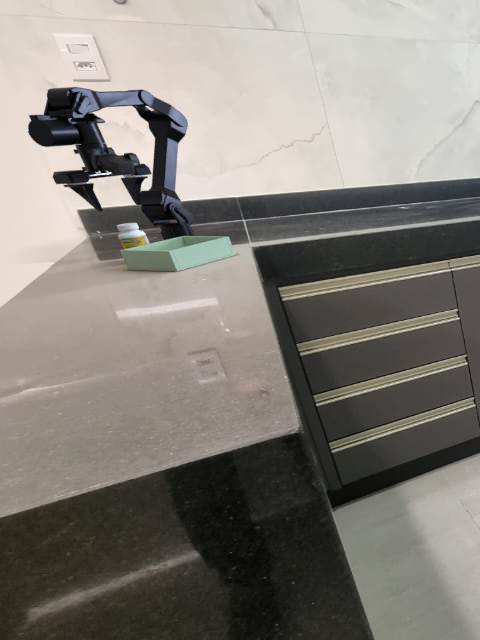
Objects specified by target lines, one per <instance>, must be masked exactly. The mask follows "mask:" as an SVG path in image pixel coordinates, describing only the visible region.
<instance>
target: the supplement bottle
mask: <svg viewBox="0 0 480 640" xmlns="http://www.w3.org/2000/svg"><path fill="white" fill-rule="evenodd" d="M116 228H117V230H118V231H119V232H120V233H118V234H117V238H118V240H119V243H120V244H121V246H122V248H123V250H124V249H128V248H132V247H137V246H141V245H146V244H150V243H151V242H150V241H149V239H148V237H147V234H146V232H145V231H143V230H139V229H140V227H139V225H138V223H137V222H126V223H120V224H116Z"/></svg>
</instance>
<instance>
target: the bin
mask: <svg viewBox="0 0 480 640" xmlns="http://www.w3.org/2000/svg"><path fill="white" fill-rule="evenodd" d="M149 243H150V244H146V245H141V246H137V247H132V248H128V249H124V248H123V249H120V250H119V252H120V254H121V256H122V258H123V260H124V263H125V265H126V266H127V269H128V270H129V271H151V272H153V271H155V272H156V271H157V272H158V271H159V272H181V271H183V270H188V269H191V268H195V267H198V266H202V265H205V264H209V263H212V262H216V261H219V260H222V259H226V258H230V257H234V256H236V252H235V250H234V247H233V244H232V242H231V239H230V237H229V236H215V235H214V236H209V235H208V236H207V235H205V236H204V235H199V236H198V235H195V236H181V237H177V238H172V239H168V240H164V239H162V240H160V241H155V242H149Z"/></svg>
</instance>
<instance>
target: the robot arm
mask: <svg viewBox="0 0 480 640" xmlns="http://www.w3.org/2000/svg"><path fill="white" fill-rule="evenodd" d="M118 107H119V108H120V107H133V108H134V109H135V111H136V112H137V115H138V116H139V117H140V118H141V119H143V120H144V121H145V122H147V125H148V129H149V131H150V133H151V134H152V136H153V137H154V145H153V146H154V147H153V148H154V149H153V163H152V171H151V169H150V167H149V166H148V165H147V164H145V163H141V161H140V159H139V158H138V155H137V154H136V153H135V152H124V153H123V154H120V155H119V154H117V153H116V152H115V149H114V148H113V146H112V147H109V146H108V144H107V142H106V140H105V137H104V136H103V134H102V131H101V129H100V127H99V125H98V124H105V123H106V120H105V119H104V118H102V117H100V116H97V114H95V112H99V111H101V110H102V109H106V108H118ZM151 109H152V110H151ZM28 117H29V119H30V121H29V122H28V125H27V129H28V130H27V133H28V135H29V136H30V138H31V140H32V141H34V142H35V143H36V144H37V145H39V146H41V147H45V148H52V147H53V148H54V147H66V146H75V148H76V149H73V152H74V154H75V155H79V157H80V159H81V161H82V163H83V164H84V165H83V166H81V169H70V170H69V169H68V170H59V171H54V172H53V174H52V179H53V181H54V182H55V184H56V185H63V188H69V189H70V190H72V191H73V192H74V193H76V194H77V195H78V196H80V197H81V198H82V199H84V200H85V201H86V202H87V203H88V204H89V205H90V206H91V207H93V209H94V210H96V211H97V212H100V213H101V212H103V208H102V205H101V203H100V200H99V199H98V196H97V194H96V193H95V190H94V185H95V184H94V183H95V182H89V181H90V180H93V179H102V178H111V177H119V176H123V177H120V181H121V182H122V184H123V186H124V188H125V189H126V191H127V192H128V194H129V196H130V198H131V200H132V201H133V203H134V204H135V206H140V208H141V212H142V214H143V215H144V216H145V217H146V218H147V220H149V221H150V223H151V224H152V225H153V226H154V227H158V226H159V228H160V230H161V231H160V235H161V237H162V240H168V239H172V238H177V237H181V236H196V235H195V233H194V230H193V228H192V225H191V224H192V223H195V215H194V214H193V213H192V212H190V211H189V210H187V209H186V208H184V207H182V199H181V198H180V197H179V195H178V194H177V192H176V183H177V181H176V180H177V168H178V166H177V165H178V153H179V152H178V151H179V143H180V142H181V141H182V140H184V139H183V138H184V137H185V136H186V135H187V134H186V133H187V131H188V127H189V123H188V119H187V117H186V116H185V115H184V114H183V113H182V112H181V111H180V110H178V109H177V108H176V107H174V106H173V105H172V104H171V103H168V102H166V101H164V100H162V99H160V98H157V97H156V96H155V95H153V94H152V93H151V92H149V91H148V90H146V89H128V90H112V91H111V90H110V91H98V90H93V89H90V88H84V87H78V86H70V87H67V86H66V87H51V88H49V89H47V92H46V103H45V107H44V111H43V114H29V115H28ZM148 175H149V176H151V175H152V177H151V187H150V188H149V189H148V190H142V184H143V182H144V180H146V179H148V178H149V176H148Z"/></svg>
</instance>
